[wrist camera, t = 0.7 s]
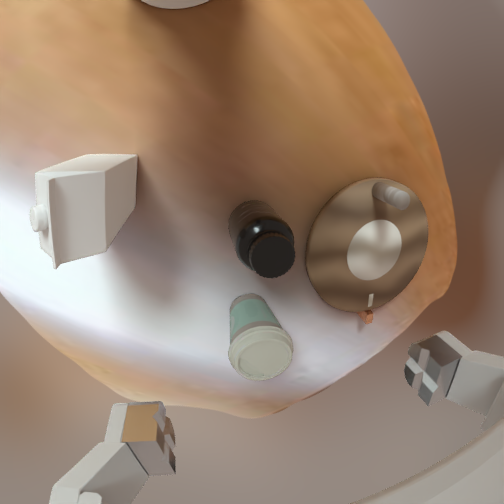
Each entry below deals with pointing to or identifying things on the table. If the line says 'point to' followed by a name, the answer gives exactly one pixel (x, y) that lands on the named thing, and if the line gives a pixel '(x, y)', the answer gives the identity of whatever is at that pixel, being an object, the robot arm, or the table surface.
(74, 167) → the milk carton
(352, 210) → the turntable
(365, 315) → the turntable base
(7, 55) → the table surface
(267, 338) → the coffee cup
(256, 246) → the supplement bottle
